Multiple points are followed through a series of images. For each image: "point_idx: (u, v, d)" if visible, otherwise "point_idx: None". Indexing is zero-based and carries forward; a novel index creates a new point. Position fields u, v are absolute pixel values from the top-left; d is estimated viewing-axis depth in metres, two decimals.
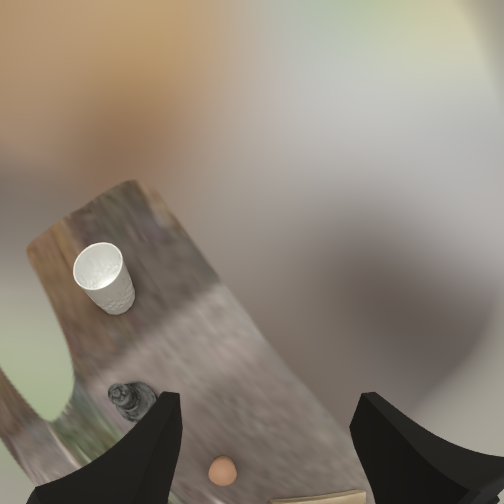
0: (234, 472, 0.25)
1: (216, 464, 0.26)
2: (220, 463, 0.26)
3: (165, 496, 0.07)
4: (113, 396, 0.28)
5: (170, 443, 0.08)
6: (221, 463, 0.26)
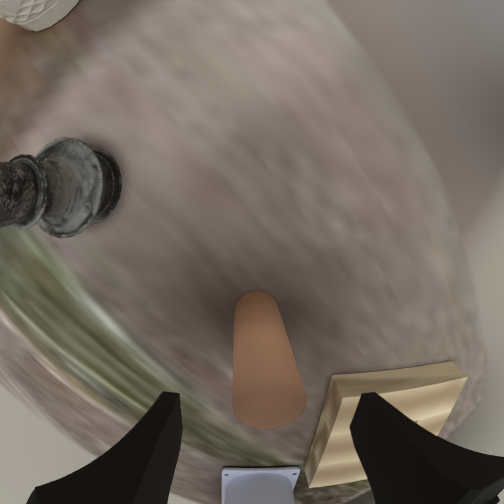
0: (301, 400, 0.11)
1: (255, 384, 0.11)
2: (267, 381, 0.11)
3: (165, 496, 0.07)
4: None
5: (170, 443, 0.08)
6: (270, 381, 0.11)
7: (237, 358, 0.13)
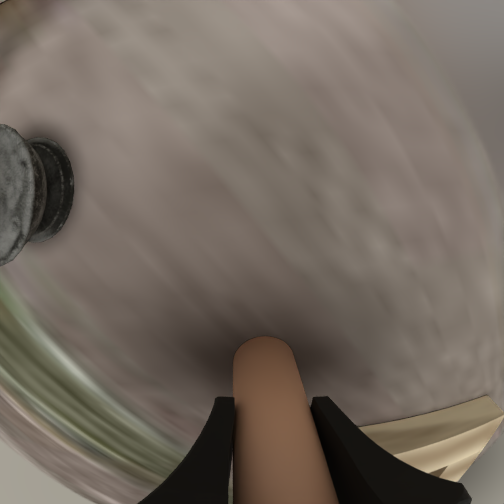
0: None
1: None
2: None
3: None
4: None
5: (231, 448, 0.08)
6: None
7: (239, 466, 0.07)
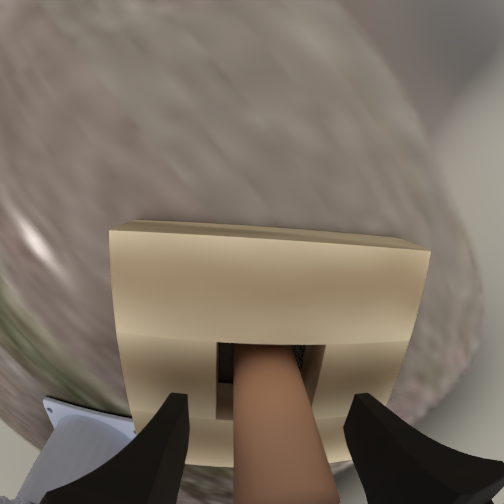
0: (332, 503, 0.06)
1: (267, 497, 0.06)
2: (284, 494, 0.06)
3: (174, 497, 0.07)
4: None
5: (179, 444, 0.08)
6: (288, 494, 0.06)
7: (238, 442, 0.08)
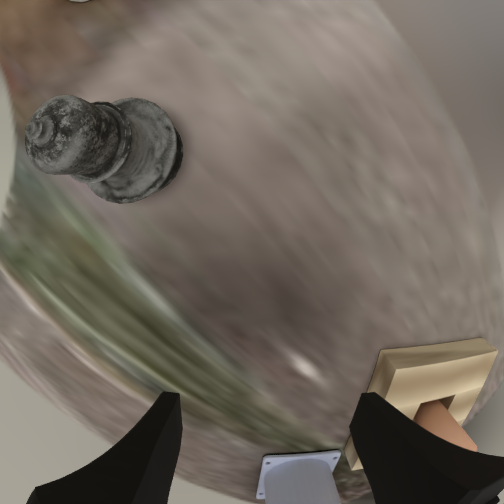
0: None
1: None
2: None
3: (165, 496, 0.07)
4: (34, 146, 0.07)
5: (170, 443, 0.08)
6: (469, 449, 0.14)
7: None
